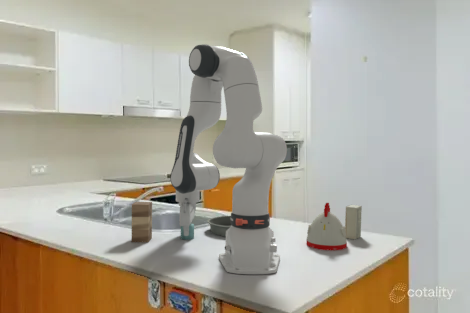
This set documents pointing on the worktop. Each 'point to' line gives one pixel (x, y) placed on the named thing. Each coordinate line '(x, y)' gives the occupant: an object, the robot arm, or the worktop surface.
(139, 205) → the tower block
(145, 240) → the tower block
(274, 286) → the worktop surface
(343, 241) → the kitchen timer
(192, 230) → the teal cube
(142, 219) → the tower block
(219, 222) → the cake pan
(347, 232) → the skincare box
